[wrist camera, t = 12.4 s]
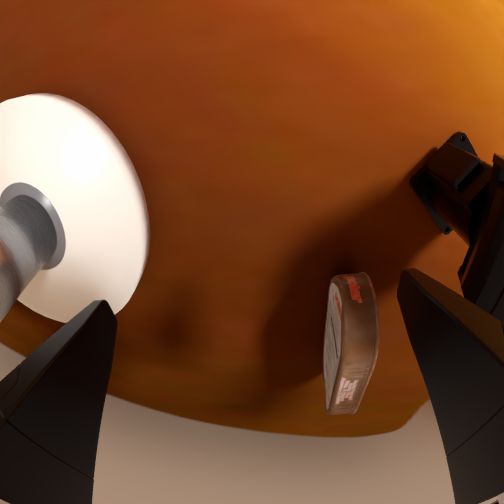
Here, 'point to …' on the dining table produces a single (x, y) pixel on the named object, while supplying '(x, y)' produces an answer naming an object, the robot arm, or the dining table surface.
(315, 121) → the dining table surface
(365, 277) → the tin
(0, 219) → the grey metal cylinder
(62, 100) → the turntable
